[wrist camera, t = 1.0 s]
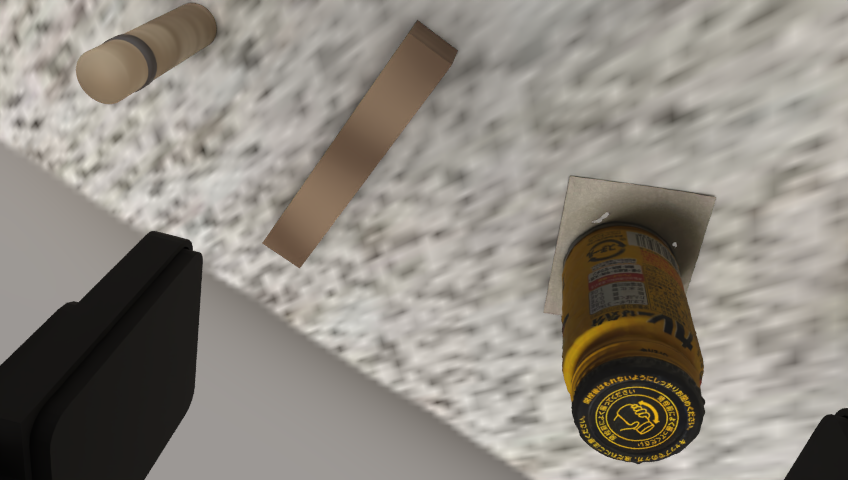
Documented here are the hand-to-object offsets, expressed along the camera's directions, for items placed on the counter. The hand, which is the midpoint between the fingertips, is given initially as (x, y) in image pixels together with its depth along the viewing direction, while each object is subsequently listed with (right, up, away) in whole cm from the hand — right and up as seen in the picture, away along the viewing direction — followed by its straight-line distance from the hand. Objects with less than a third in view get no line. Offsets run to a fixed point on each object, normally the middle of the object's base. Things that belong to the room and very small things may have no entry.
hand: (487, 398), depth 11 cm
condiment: (+10, +2, +30) cm, 31 cm away
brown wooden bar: (-4, +7, +28) cm, 30 cm away
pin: (-12, +13, +27) cm, 32 cm away
